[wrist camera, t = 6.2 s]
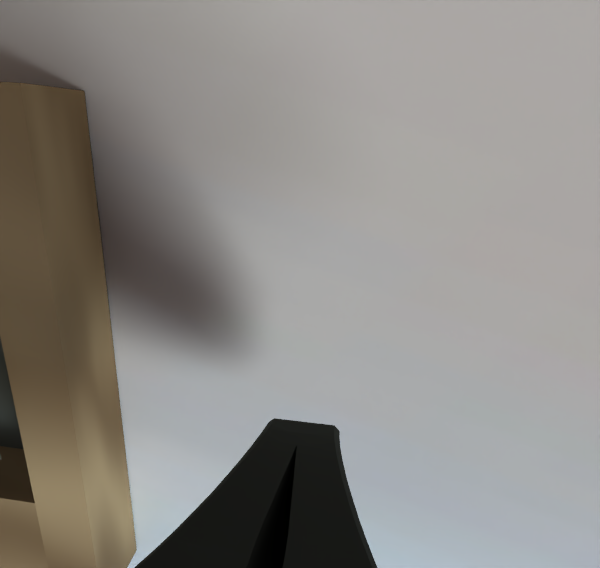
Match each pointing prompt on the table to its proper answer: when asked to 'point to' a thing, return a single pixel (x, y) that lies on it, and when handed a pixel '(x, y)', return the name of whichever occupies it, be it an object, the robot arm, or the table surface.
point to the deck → (56, 346)
